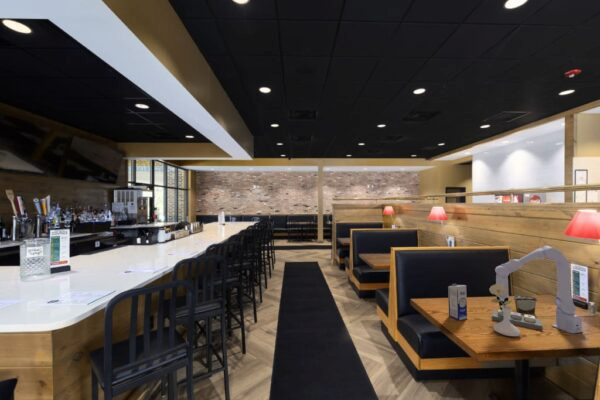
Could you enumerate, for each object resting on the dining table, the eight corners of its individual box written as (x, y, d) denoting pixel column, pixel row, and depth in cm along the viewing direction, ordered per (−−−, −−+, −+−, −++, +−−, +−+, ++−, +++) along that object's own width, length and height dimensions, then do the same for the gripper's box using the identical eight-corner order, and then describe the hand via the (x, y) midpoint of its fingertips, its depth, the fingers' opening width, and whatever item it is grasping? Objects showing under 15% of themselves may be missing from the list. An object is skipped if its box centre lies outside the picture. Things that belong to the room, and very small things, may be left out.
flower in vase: (522, 333, 142) (521, 285, 143) (518, 341, 134) (517, 290, 135) (492, 325, 152) (491, 280, 152) (487, 332, 144) (486, 284, 144)
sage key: (507, 315, 161) (507, 310, 161) (507, 317, 157) (507, 313, 157) (498, 313, 164) (498, 309, 164) (498, 315, 160) (498, 311, 160)
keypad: (541, 323, 154) (540, 319, 154) (542, 330, 145) (542, 325, 146) (493, 313, 168) (493, 310, 168) (492, 319, 159) (491, 315, 159)
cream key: (534, 320, 153) (534, 315, 153) (535, 323, 150) (534, 318, 150) (524, 318, 156) (524, 313, 156) (524, 320, 153) (524, 316, 153)
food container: (530, 310, 172) (529, 294, 172) (537, 314, 166) (536, 297, 166) (509, 310, 173) (508, 294, 174) (515, 313, 167) (515, 297, 168)
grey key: (520, 317, 157) (520, 313, 157) (520, 320, 154) (520, 315, 154) (511, 315, 160) (511, 311, 160) (511, 318, 156) (510, 313, 156)
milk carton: (458, 320, 158) (458, 286, 159) (448, 316, 165) (447, 283, 165) (467, 318, 161) (466, 284, 161) (457, 314, 167) (456, 281, 168)
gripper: (494, 282, 169) (495, 304, 169) (493, 288, 158) (493, 312, 157) (509, 284, 164) (509, 307, 164) (508, 290, 153) (509, 315, 153)
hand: (502, 309), depth 160 cm, fingers closed
